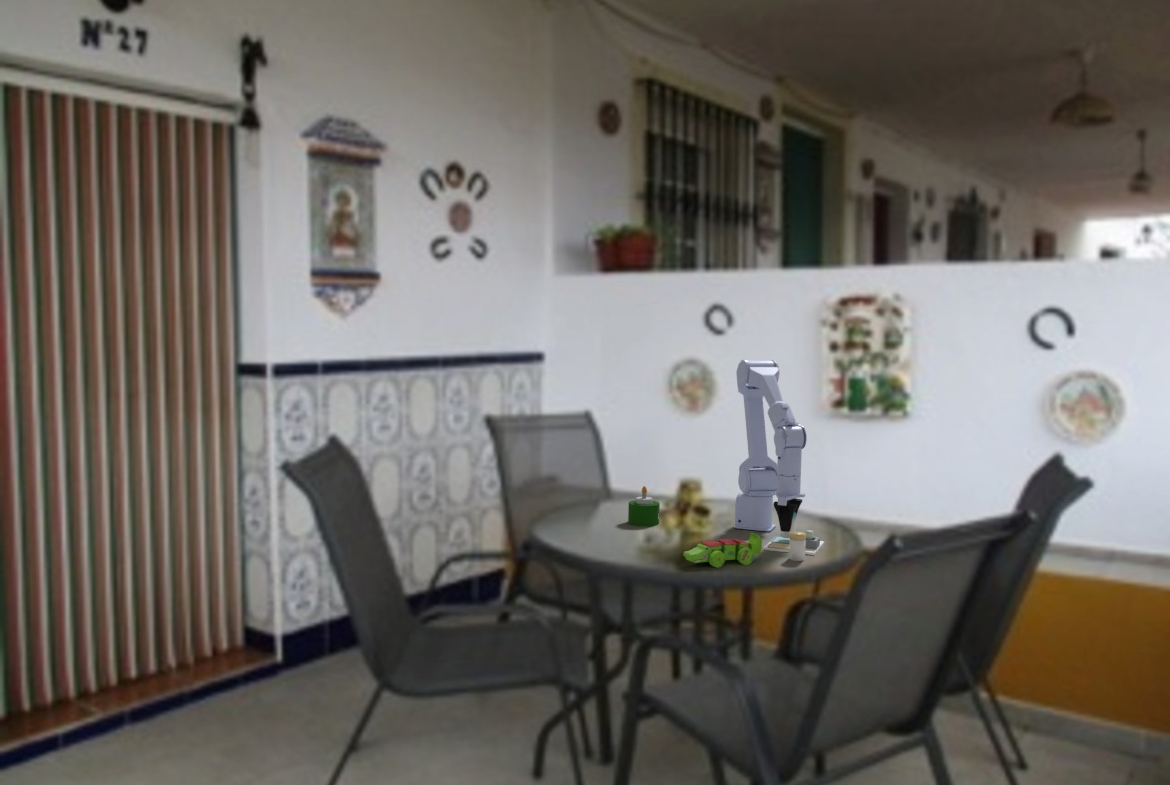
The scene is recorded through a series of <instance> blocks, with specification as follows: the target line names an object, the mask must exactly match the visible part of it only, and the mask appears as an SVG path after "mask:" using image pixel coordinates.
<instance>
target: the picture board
mask: <svg viewBox="0 0 1170 785" xmlns="http://www.w3.org/2000/svg"><path fill="white" fill-rule="evenodd" d="M789 542H790V538H782V537H780V535H776V536H774V537H773V538H772V539H771V540H770V541H769V542H768V543H767V544H766V545H764V546H763V550H764V551H770V552H771V551H772V552H781V553H789ZM824 545H825V541H823V540H821V537H818V536H813V540H806V543H805V555H811V556H815V555H816V554H818V552H819V551H820V549H821V548H822V547H823V546H824Z"/></svg>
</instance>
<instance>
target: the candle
mask: <svg viewBox="0 0 1170 785" xmlns="http://www.w3.org/2000/svg"><path fill="white" fill-rule="evenodd" d="M647 492H648V489H647V487H646V486H645V485H644V486H643V487H642V488H641V493H642V495H641V496H637V497H635V500H630V501H628V517H627V519H628V520H627V523H628V525H631V526H636V527H655V526H658V524H659V525H660V518H659V519H658V513H659V514H660V511H661V510H660V507H661V506H660V505H661V504H660V502H659V501H656V500H653V497H651V496H647Z"/></svg>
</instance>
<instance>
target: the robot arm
mask: <svg viewBox="0 0 1170 785" xmlns="http://www.w3.org/2000/svg"><path fill="white" fill-rule="evenodd" d="M737 365H738V366H737V369H736V383H737V391H738V393H739V394H741V395H743V405H744V406H743V407H744V417H745V419H744V420H745V428H746V440H747V451H748V453H747V454H748V457H747V458H746V459H745V460H744V461H743V462H741V463H740V465H739V468H738V471H739V472H738V478H737V479H738V482H737V483H738V487H739V489H740V491H741V492H738V493H737V495H736V498H735V504H734V506H735V508H734V509H735V511H734V526H733V528H734V529H740V530H749V531H750V530H751V531H761V532H771V531H772V530H773V529H775V528H776V527H777V524H774V523H773V508H774V509H775V511H776V514H777V517H778V522H779V528H780V529H781V531H784V532H790V529H791V525H792V519H793V515H794V512H796V517H797V515H798V512H799V509H800V507H801V504H802V503H803V499H802V498H805V497H806V493H805V492H804V493H803V492H801V484H802V483H801V482H802V480H801V478H802V477H801V476H802V454H803V453H802V450H803V449H805V447H806V446H807V441H808V438H807V437H808V436H807V433H806V432H807V431H806V429H805V426H804V425H801V423H799V422H797V420H796V418H795V416H794V413H793V411H792V409H791V408H792V407H790V405H789V404H788V403H787V402H784V400H783V396H782V394H781V390H780V387H779V384H778V382H779V378H780V365H779V364H778V362H777V361H776V360H774V359H771V360H745V359H742V360H741V361H740V362H739V363H738V364H737ZM763 399H765V401H766V403H767V404H768V409H767V410H768V411H767V415H768V418H769V421H770V424H771V426H772V428H773V430H774V435H773V443H774V447H775V452H774V453H775V455H776V456H777V462H776V461H775V460H773V459H772V458H770V457H769V456H768V446H767V445H768V444H767V433H766V432H767V431H766V423H765V411H764V409H765V408H764V401H763ZM774 496H776V498H777V501H776V500H775V501H774Z"/></svg>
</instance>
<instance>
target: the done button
mask: <svg viewBox="0 0 1170 785" xmlns="http://www.w3.org/2000/svg"><path fill="white" fill-rule="evenodd" d="M804 533H806V540H813V537H814V530H812V529H810V530H809V529H807V530H804Z"/></svg>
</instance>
